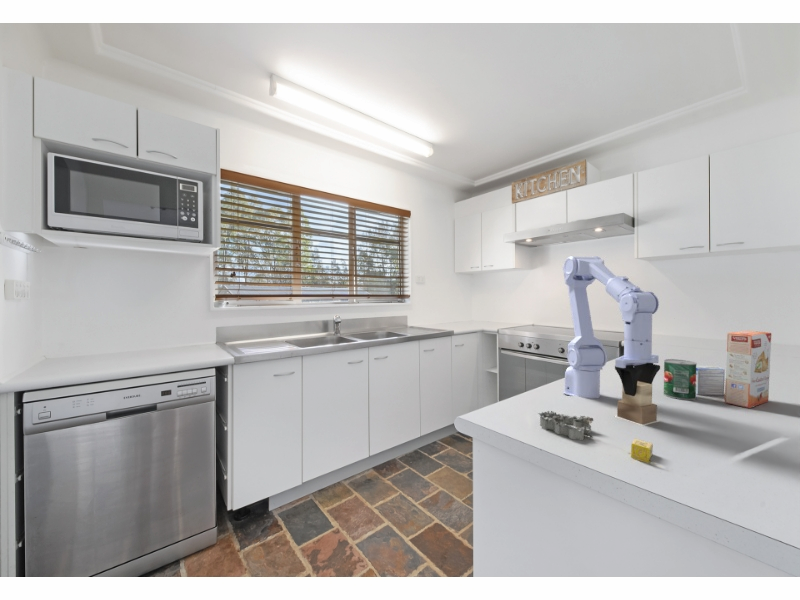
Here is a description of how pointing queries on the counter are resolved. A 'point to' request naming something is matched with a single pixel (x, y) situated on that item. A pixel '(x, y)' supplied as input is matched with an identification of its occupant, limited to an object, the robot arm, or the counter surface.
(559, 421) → the egg carton
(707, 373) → the medicine box
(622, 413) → the walnut block
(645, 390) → the oak block
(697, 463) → the counter surface
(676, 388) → the canned tomato
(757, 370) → the cracker box
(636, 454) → the alphabet block
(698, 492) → the counter surface
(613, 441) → the counter surface
